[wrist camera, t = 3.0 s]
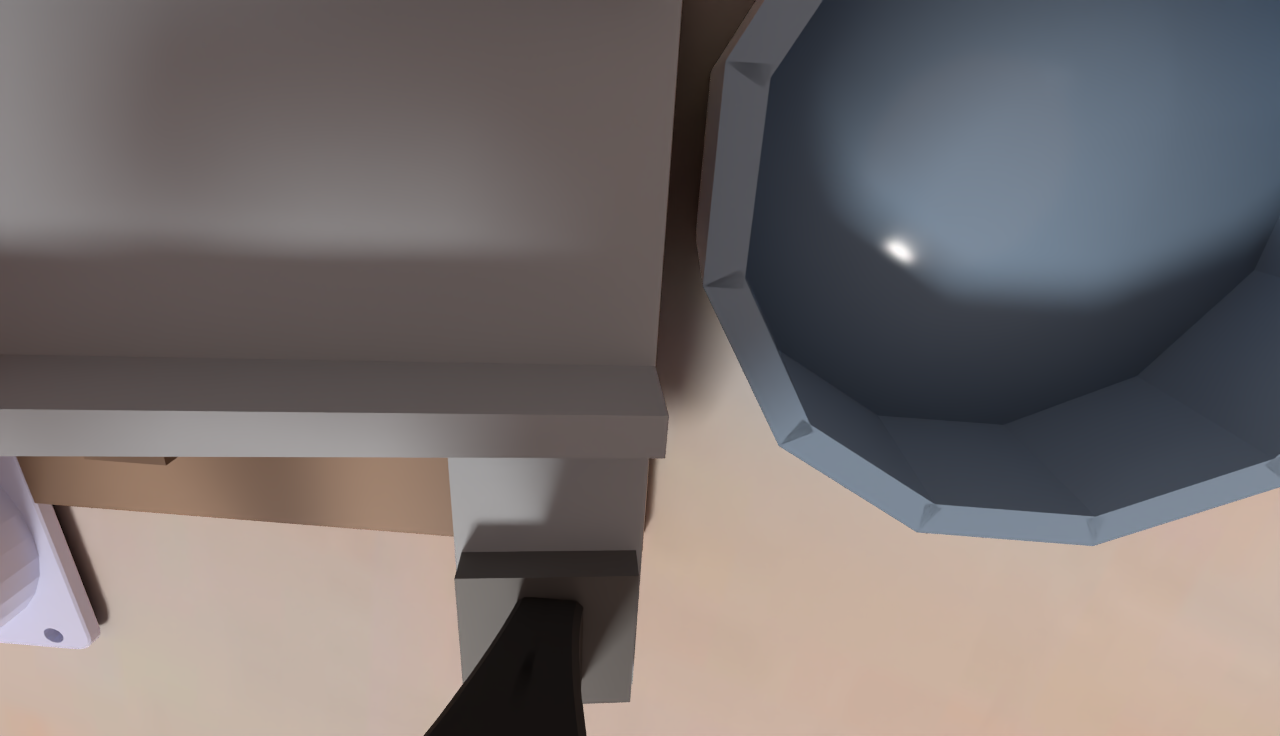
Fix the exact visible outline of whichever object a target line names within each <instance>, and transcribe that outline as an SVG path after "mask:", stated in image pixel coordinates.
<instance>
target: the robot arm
mask: <svg viewBox="0 0 1280 736" xmlns="http://www.w3.org/2000/svg"><path fill="white" fill-rule="evenodd" d="M99 635H100V627H99V624H98V622H97V619H96V617H95V614H94V611H93V609H92V606H91V604H90V601H89V599H88V596H87V593H86V591H85V588H84V586H83V583H82V581H81V578H80V575H79V573H78V570H77V568H76V565H75V563H74V560H73V557H72V555H71V552H70V550H69V547H68V544H67V542H66V539H65V537H64V534H63V532H62V529H61V526H60V524H59V521H58V519H57V516H56V514H55V511H54V508H53V506H52V505H51V504H39V503H34V500H33V498H32V495H31V493H30V490H29V488H28V485H27V483H26V480H25V478H24V475H23V473H22V470H21V468H20V465H19V463H18V460H17V458H16V456H0V643H11V644H23V645H35V646H46V647H58V648H70V649H84V648H87V647H88V646H90V645H91V644H92V643H93V642H94V641H95V640H96V639H97V638H98V637H99ZM582 643H583V606H582V605H581V604H580V603H578V602H577V601H572V600H560V599H549V598H537V597H523V598H522V599H520V600H519V601H518V602H516V604H515V606H514V608H513V609H512V611H511V613H510V615H509V616H508V618H507V620H506V621H505V623H504V625H503V626H502V628H501V629H500V631H499V633H498V634H497V636H496V637H495V639H494V640H493V642H492V643H491V645H490V646H489V648H488V649H487V651H486V652H485V654H484V655H483V657H482V658H481V660H480V661H479V662H478V664H477V665H476V667H475V668H474V670H473V671H472V672H471V674H470V675H469V677H468V678H467V679H466V681H465V682H464V683H463V685H462V686H461V687H460V689H459V690H458V692H457V693H456V694H455V696H454V697H453V698H452V700H451V701H450V702H449V704H448V705H447V706H446V708H445V709H444V711H443V712H442V713H441V714H440V716H439V717H438V718H437V720H436V721H435V722H434V723H433V725H432V726H431V727H430V728H429V730H428V731H427V732H426V733H425V735H424V736H586V728H585V720H584V712H583V704H582V695H581V681H582Z"/></svg>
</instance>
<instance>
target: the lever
mask: <svg viewBox="0 0 1280 736" xmlns="http://www.w3.org/2000/svg"><path fill="white" fill-rule="evenodd" d="M681 9H682V0H0V456H108V457H405V458H448V468H449V481H450V493H451V506H452V519H453V532H454V545H455V558H456V570H457V571H456V575H455V591H456V604H457V616H458V629H459V641H460V654H461V666H462V679H463V683H464V682H465V681H466V679H467V678H468V677H469V675H470V674H471V672H472V671H473V670H474V668H475V667H476V665H477V664H478V662H479V661H480V660H481V658H482V657H483V655H484V654H485V652H486V651H487V649H488V648H489V646H490V645H491V643H492V642H493V640H494V639H495V637H496V636H497V634H498V633H499V631H500V629H501V628H502V626H503V625H504V623H505V621H506V620H507V618H508V616H509V615H510V613H511V611H512V609H513V608H514V606H515V604H516V602H518V601H519V600H520V599H522V598H523V597H537V598H549V599H560V600H572V601H577V602H578V603H580V604H581V605H582V606H583V643H582V681H581V695H582V704H589V703H617V702H630V695H631V684H632V681H633V667H634V654H635V640H636V626H637V612H638V599H639V585H640V571H641V558H642V544H643V530H644V517H645V503H646V489H647V475H648V462H649V458H665V454H666V442H667V430H668V419H669V415H668V411H667V408H666V404H665V400H664V396H663V393H662V389H661V385H660V381H659V378H658V374H657V370H656V352H657V338H658V325H659V311H660V297H661V284H662V270H663V256H664V242H665V229H666V215H667V201H668V188H669V174H670V160H671V146H672V133H673V119H674V105H675V92H676V78H677V64H678V51H679V37H680V23H681Z"/></svg>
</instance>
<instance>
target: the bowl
mask: <svg viewBox="0 0 1280 736" xmlns="http://www.w3.org/2000/svg"><path fill="white" fill-rule="evenodd" d="M695 237H696V244H697V251H698V257H699V264H700V271H701V277H702V284H703V288H704V290H705V292H706V294H707V296H708V298H709V300H710V303H711V305H712V307H713V309H714V311H715V313H716V315H717V317H718V319H719V321H720V324H721V326H722V328H723V330H724V332H725V334H726V336H727V338H728V340H729V342H730V344H731V347H732V349H733V351H734V353H735V355H736V357H737V359H738V361H739V363H740V365H741V368H742V370H743V372H744V374H745V376H746V378H747V380H748V382H749V384H750V386H751V389H752V391H753V393H754V395H755V397H756V399H757V401H758V403H759V405H760V407H761V410H762V412H763V414H764V416H765V418H766V420H767V422H768V424H769V426H770V428H771V431H772V433H773V435H774V437H775V439H776V441H777V443H778V445H779V446H780V447H781V448H783V449H785V450H786V451H788V452H789V453H791V454H793V455H794V456H796V457H797V458H799V459H801V460H802V461H804V462H805V463H807V464H809V465H810V466H812V467H813V468H815V469H817V470H818V471H820V472H821V473H823V474H825V475H826V476H828V477H829V478H831V479H833V480H834V481H836V482H837V483H839V484H841V485H842V486H844V487H845V488H847V489H849V490H850V491H852V492H853V493H855V494H857V495H858V496H860V497H861V498H863V499H865V500H866V501H868V502H869V503H871V504H873V505H874V506H876V507H877V508H879V509H881V510H882V511H884V512H885V513H887V514H889V515H890V516H892V517H893V518H895V519H896V520H898V521H900V522H901V523H903V524H904V525H906V526H908V527H909V528H911V529H912V530H914V531H916V532H920V533H933V534H946V535H959V536H971V537H984V538H997V539H1010V540H1023V541H1036V542H1048V543H1061V544H1074V545H1087V546H1095V545H1098V544H1101V543H1104V542H1107V541H1110V540H1114V539H1117V538H1120V537H1123V536H1126V535H1129V534H1133V533H1136V532H1139V531H1142V530H1145V529H1148V528H1152V527H1155V526H1158V525H1161V524H1164V523H1168V522H1171V521H1174V520H1177V519H1180V518H1183V517H1187V516H1190V515H1193V514H1196V513H1199V512H1202V511H1206V510H1209V509H1212V508H1215V507H1218V506H1222V505H1225V504H1228V503H1231V502H1234V501H1237V500H1241V499H1244V498H1247V497H1250V496H1253V495H1256V494H1260V493H1263V492H1266V491H1269V490H1272V489H1275V488H1279V487H1280V0H756V1H755V2H754V4H753V6H752V7H751V9H750V10H749V12H748V13H747V15H746V17H745V18H744V20H743V21H742V23H741V25H740V26H739V28H738V29H737V31H736V32H735V34H734V36H733V37H732V39H731V40H730V42H729V43H728V45H727V47H726V48H725V50H724V51H723V53H722V54H721V56H720V58H719V59H718V61H717V62H716V64H715V65H714V67H713V69H712V70H711V73H710V84H709V95H708V106H707V117H706V127H705V138H704V149H703V160H702V171H701V181H700V192H699V203H698V214H697V225H696V235H695Z"/></svg>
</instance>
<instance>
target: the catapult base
mask: <svg viewBox="0 0 1280 736" xmlns="http://www.w3.org/2000/svg"><path fill="white" fill-rule="evenodd" d="M682 5H683V0H682ZM681 18H682V9H681ZM680 32H681V23H680ZM679 45H680V37H679ZM678 59H679V51H678ZM677 73H678V64H677ZM676 86H677V78H676ZM675 100H676V92H675ZM674 114H675V105H674ZM673 127H674V119H673ZM672 141H673V133H672ZM671 155H672V146H671ZM670 168H671V160H670ZM669 182H670V174H669ZM668 195H669V188H668ZM667 209H668V201H667ZM666 223H667V215H666ZM665 236H666V229H665ZM664 250H665V242H664ZM663 264H664V256H663ZM662 277H663V270H662ZM661 291H662V284H661ZM660 305H661V297H660ZM659 318H660V311H659ZM658 332H659V325H658ZM657 346H658V338H657ZM656 359H657V352H656ZM16 458H17V460H18V463H19V465H20V468H21V470H22V473H23V475H24V478H25V480H26V483H27V485H28V488H29V490H30V493H31V495H32V498H33V500H34V503H39V504H51V505H64V506H77V507H89V508H102V509H114V510H127V511H139V512H152V513H165V514H177V515H190V516H202V517H215V518H228V519H240V520H253V521H265V522H278V523H290V524H303V525H316V526H328V527H341V528H353V529H366V530H379V531H391V532H404V533H416V534H429V535H441V536H454V532H453V519H452V506H451V493H450V481H449V468H448V458H405V457H108V456H16ZM648 468H649V462H648ZM647 482H648V475H647ZM646 496H647V489H646ZM645 509H646V503H645ZM644 523H645V517H644ZM643 536H644V530H643ZM642 550H643V544H642Z"/></svg>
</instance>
